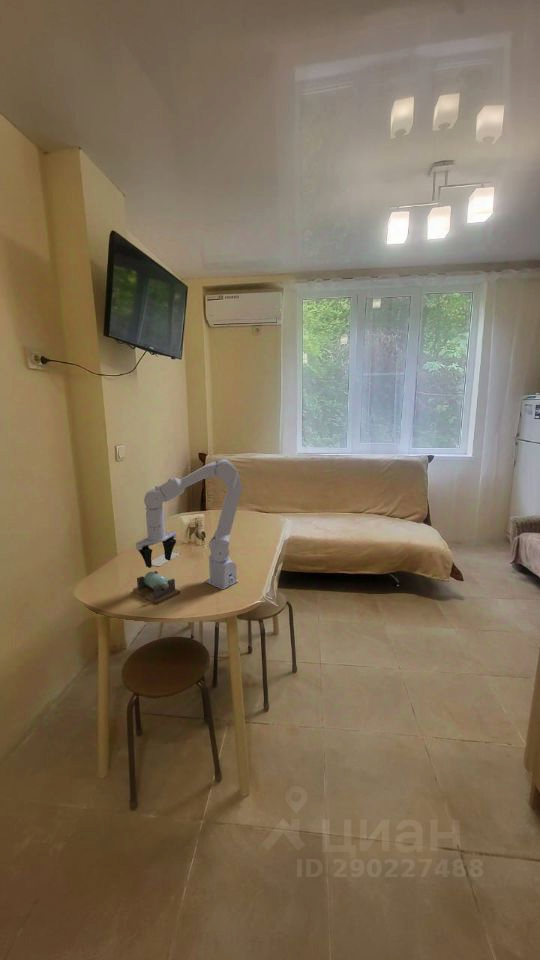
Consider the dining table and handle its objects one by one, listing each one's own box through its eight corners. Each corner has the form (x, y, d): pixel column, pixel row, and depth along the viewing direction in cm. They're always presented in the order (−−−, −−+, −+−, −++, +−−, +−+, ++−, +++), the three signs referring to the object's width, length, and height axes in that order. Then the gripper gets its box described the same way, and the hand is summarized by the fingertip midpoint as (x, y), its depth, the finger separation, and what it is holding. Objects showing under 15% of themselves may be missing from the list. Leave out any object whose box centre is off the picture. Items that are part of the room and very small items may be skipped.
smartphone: (181, 553, 157) (159, 566, 143) (181, 554, 157) (159, 567, 143) (168, 551, 160) (145, 564, 146) (168, 552, 160) (145, 565, 146)
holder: (180, 593, 122) (179, 579, 121) (157, 604, 115) (156, 590, 114) (156, 581, 130) (155, 568, 130) (133, 591, 124) (132, 577, 123)
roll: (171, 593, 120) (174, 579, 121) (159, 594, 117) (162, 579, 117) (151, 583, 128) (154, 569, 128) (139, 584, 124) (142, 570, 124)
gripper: (166, 518, 129) (169, 553, 132) (129, 528, 118) (132, 567, 121) (179, 521, 125) (181, 558, 128) (141, 532, 114) (144, 572, 116)
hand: (158, 563), depth 124 cm, fingers open, 7 cm apart
